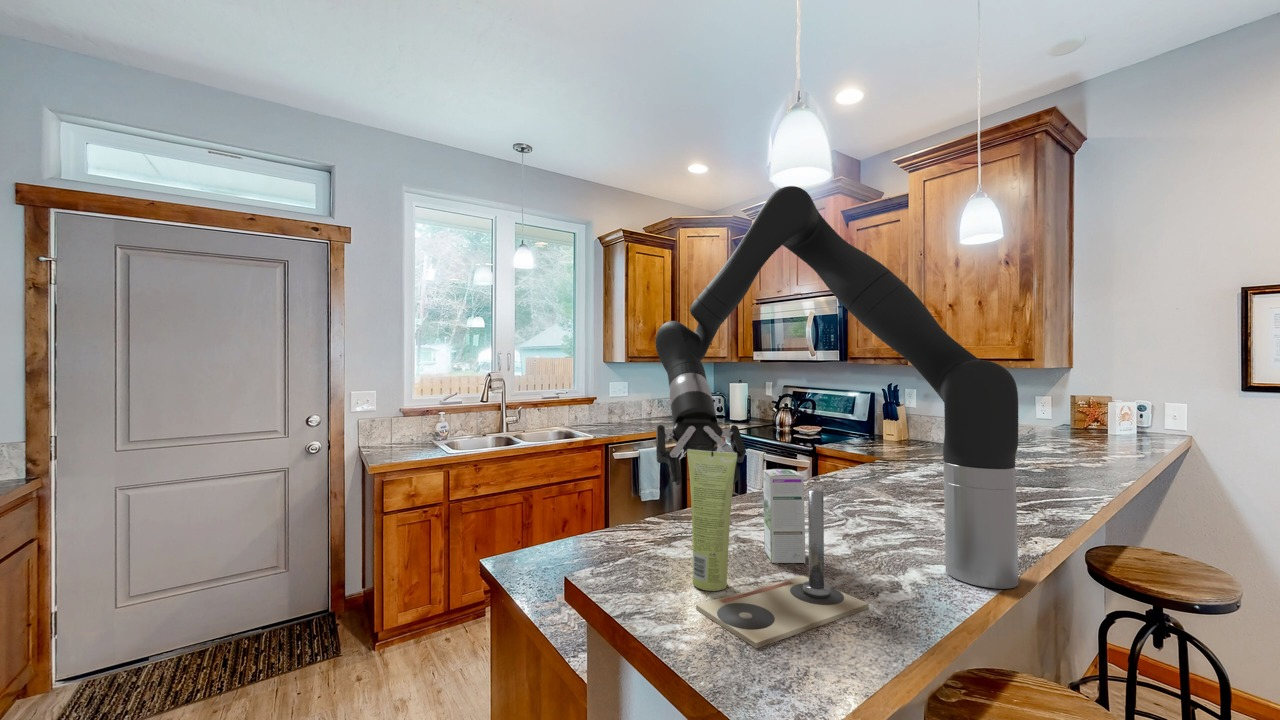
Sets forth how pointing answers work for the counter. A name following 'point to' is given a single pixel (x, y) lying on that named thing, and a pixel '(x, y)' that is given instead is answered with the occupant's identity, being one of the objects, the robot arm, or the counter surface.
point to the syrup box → (784, 516)
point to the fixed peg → (816, 547)
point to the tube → (711, 515)
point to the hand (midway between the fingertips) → (706, 482)
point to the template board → (777, 611)
